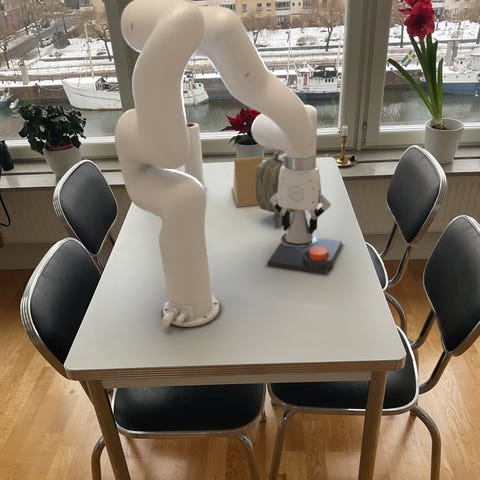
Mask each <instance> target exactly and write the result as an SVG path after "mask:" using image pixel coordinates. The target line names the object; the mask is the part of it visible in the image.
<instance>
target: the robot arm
mask: <svg viewBox="0 0 480 480" xmlns="http://www.w3.org/2000/svg"><path fill="white" fill-rule="evenodd" d="M120 30H121V33H122V37H123V39H124V40H125V42H126V44H128V45H129V47H130V48H131V49H133V50H134V51H136V52H139V53H140V54H139V55H138V58H137V60H136V62H135V65H134V68H133V73H132V76H131V77H132V79H131V81H132V82H131V88H132V89H131V90H132V96H133V102H134V108H131V109H128V110H127V111H124V113H122V115H121V116H120V117H119V119H118V121H117V123H116V125H115V131H114V145H115V150H116V155H117V159H118V162H119V167H120V170H121V174H122V179H123V183H124V186H125V189H126V193H127V195H128V198H129V199H130V201H131V202H132V204H133V205H134V206H136V207H137V208H139V209H141V210H143V211H145V212H148V213H150V214H152V215H155V216H156V217H159V218H160V219H161V222H162V225H161V229H160V230H159V231H160V232H159V236H158V245H159V252H160V255H161V263H162V269H163V276H164V281H165V288H166V294H167V301H166V302H165V303H164V305H163V308H162V314H163V317H162V318H161V320H160V323H161V324H162V325H163V326H164V327H169V326H170V324H172V325H174V326H177V327H184V328H191V327H197V326H202V325H204V324H207V323H209V322H210V321H212V320H214V319H215V318H216V317H217V316H218V314H219V313H220V302H219V300H218V299H217V297H215V296H214V295H212V289H211V280H210V269H209V260H208V259H209V258H208V249H207V240H206V221H205V220H206V211H207V202H208V201H207V193H206V189H205V190H204V188H203V186H202V185H201V183H200V182H199V181H198V180H196V179H195V178H193V177H192V176H190V175H188V174H185V172H182V171H179V170H176V169H180V168H181V167H184V164H185V163H186V162H187V160H188V158H189V155H190V140H189V133H188V127H187V123H188V121H187V115H186V108H185V103H184V94H183V79H184V75H185V72H186V69H187V67H188V65H189V63H190V61H191V59H192V58H193V57H201V58H205V59H207V60H208V61H209V62H210V63H211V65H212V67H213V68H214V70H215V72H216V73H217V74H218V76H219V77H220V79H221V80H222V82H223V83H224V85H225V87H226V88H227V90H228V91H229V93H230V95H231V96H232V97H233V98H234V99H235V100H237V101H238V102H240V103H242V104H243V105H244V106H246V107H248V108H249V109H252V110H254V111H256V112H259V113H260V114H259V115H257V116H256V117H255V119H254V120H253V123H252V124H251V136H252V139H253V140H254V141H255V143H257V144H258V145H260V146H262V147H265V148H268V149H269V148H270V149H273V150H282V151H284V154H282V155H279V157H278V159H279V160H280V161H283V166H281V169H280V174H279V183H278V192H277V193H276V194H275V195H273V196H272V197H271V198H270V200H269V201H270V202H271V203H272V204H273V206H275V208H276V209H277V210H278V212H279V213H280V215H279V216H281V226H282V227H283V231H284V232H287V231H288V228H289V226H290V223H291V213H289V212H288V209H297V210H305V211H308V212H309V215H310V219H309V221H308V225H309V233H310V234H313V233H314V232H315V231H317V229H318V218H319V217H320V216H321V215H322V214H324V213H325V212H326V211H327V210H329V209H330V207H331V205H332V203H330V201H329V200H328V199H327V198H326V197H325V196H324V194H322V184H321V183H322V181H321V174H320V169H319V166H318V165H317V139H318V138H317V137H318V136H317V135H318V134H317V133H318V132H317V131H318V112H317V109H316V108H315V107H314V106H313V105H310V104H304V102H303V101H302V100H301V98H300V97H299V96H298V95H297V94H296V93H295V92H294V91H293V90H292V89H291V88H290V87H289V86H287V85H286V84H285V83H284V82H283V81H282V80H281V79H280V78H279V77H278V76H276V75H275V74H274V73H273V72H271V71H270V70H269V69H268V67H267V66H266V64H265V63H264V60H263V58H262V57H261V55H260V53H259V51H258V49H257V47H256V45H255V44H254V42H253V40H252V37H251V36H250V34H249V32H248V30H247V29H246V27H245V25H244V23H243V22H242V19H241V18H240V17H239V15H238V14H237V13H236V12H235V11H234V10H233V9H231V8H228V7H225V6H220V5H219V6H218V5H217V6H214V5H197V4H195V3H193V2H191V1H189V0H132V1H130V2H129V3H128V4H126V6H125V8H124V9H123V11H122V12H121V16H120ZM277 199H278V200H277ZM319 204H321V205H322V206H320V207H319V208H318V206H319Z"/></svg>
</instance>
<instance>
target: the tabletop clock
mask: <svg viewBox="0 0 480 480" xmlns="http://www.w3.org/2000/svg"><path fill="white" fill-rule="evenodd" d="M282 154H284V151H282V150H278V149H275V151H274V153H273V155H272V157H270V158H268V159H266V160H264V161H263V162H262V163H260V164H259V165H258V166H257V168H256V175H255V187H256V198H257V202H258V205H257V206H258V207H259V208H260V209H261V210H264V211H267V212H270V213H272V214H273V215H274V217H275V218H276V222H275V223H274V225H275V227H276V228H280V227H281V226H282V222H281V221H280V216H281V215H280V213H279V212H278V210H277V209H276V208H275V206H273V204H272V203H271V202H270V201H269V200H270V198H271V197H272V196H273V195H275V194H276V193H277V192H278V183H279V174H280V169H281V166H283V161H280V160H279V159H278V157H279V155H282ZM277 200H278V199H277ZM288 212H289V213H290V214H293V213H294V209H288Z"/></svg>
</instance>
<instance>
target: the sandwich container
mask: <svg viewBox="0 0 480 480" xmlns="http://www.w3.org/2000/svg"><path fill="white" fill-rule="evenodd" d="M263 160H264V158H263V156H253V157H252V156H251V157H250V156H249V157H243V158H235V159H234V163H233V165H234V166H233V167H234V169H233V182H232V183H233V184H232V191H233V196H234V201H235V203H236V206H237V207H238V208H241V207H242V208H243V207H252V206H259V205H258V202H257V198H256V187H255V175H256V168H257V166H258V165H259V164H260V163H262V162H264V161H263Z"/></svg>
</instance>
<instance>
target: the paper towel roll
mask: <svg viewBox="0 0 480 480" xmlns="http://www.w3.org/2000/svg"><path fill="white" fill-rule="evenodd" d="M187 127H188V133H189V140H190V155H189V158H188V160H187V162H186V163H185V164H184V165H183V168H184V173H185V174H188V175H190V176H192V177H193V178H195V179H196V180H198V181H199V182H200V183H201V185H202V186H203V188H204V190H205V191H206V185H205V184H206V183H205V175H204V163H203V152H202V143H201V133H200V132H201V131H200V124H199V123H196V122H187Z"/></svg>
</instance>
